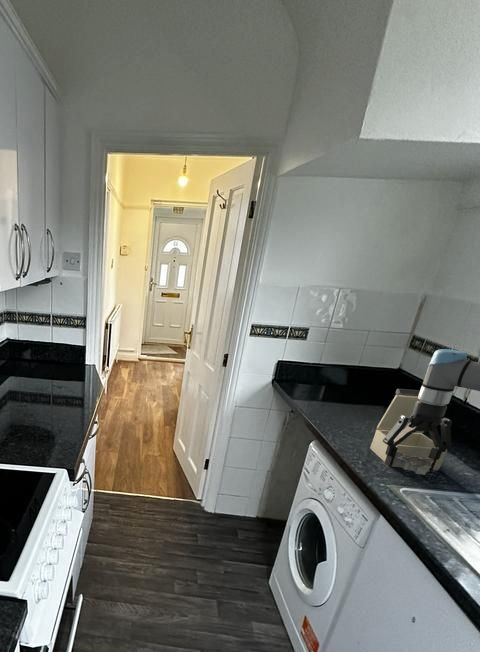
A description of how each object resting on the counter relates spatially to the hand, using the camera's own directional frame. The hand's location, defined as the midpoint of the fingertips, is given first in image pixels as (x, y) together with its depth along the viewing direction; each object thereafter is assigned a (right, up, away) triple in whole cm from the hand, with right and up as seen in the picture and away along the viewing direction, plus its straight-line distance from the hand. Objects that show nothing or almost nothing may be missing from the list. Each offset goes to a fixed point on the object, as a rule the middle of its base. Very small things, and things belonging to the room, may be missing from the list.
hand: (408, 466), depth 132 cm
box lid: (+9, +17, +11) cm, 22 cm away
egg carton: (0, 0, 0) cm, 0 cm away
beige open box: (+8, +1, +13) cm, 15 cm away
